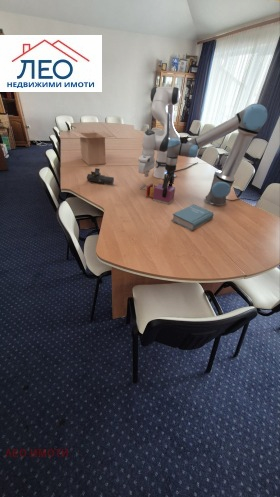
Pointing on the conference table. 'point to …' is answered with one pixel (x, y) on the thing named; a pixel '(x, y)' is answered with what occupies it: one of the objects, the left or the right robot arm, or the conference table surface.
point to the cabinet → (159, 191)
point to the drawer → (149, 190)
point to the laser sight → (99, 177)
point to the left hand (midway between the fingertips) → (146, 176)
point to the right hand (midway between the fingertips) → (166, 194)
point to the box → (92, 146)
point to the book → (192, 217)
